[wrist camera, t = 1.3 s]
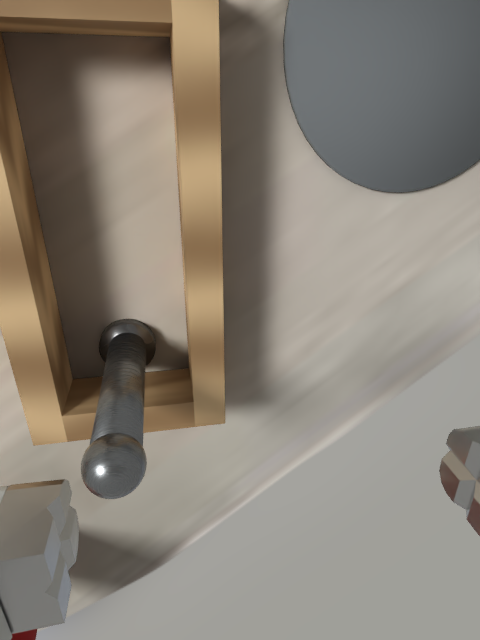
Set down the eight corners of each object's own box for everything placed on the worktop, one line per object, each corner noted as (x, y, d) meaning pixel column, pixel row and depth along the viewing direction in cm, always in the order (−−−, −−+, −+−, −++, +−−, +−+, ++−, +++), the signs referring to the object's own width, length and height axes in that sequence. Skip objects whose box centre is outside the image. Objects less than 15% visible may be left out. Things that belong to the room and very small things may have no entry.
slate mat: (292, -172, 19) (294, -177, 19) (594, -137, 22) (602, -141, 21) (276, 194, 26) (278, 195, 26) (506, 188, 29) (510, 189, 28)
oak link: (-58, -23, 19) (-106, -54, 16) (207, -10, 21) (217, -34, 17) (48, 405, 30) (33, 445, 26) (217, 388, 32) (225, 423, 28)
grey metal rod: (96, 321, 28) (58, 463, 16) (152, 316, 28) (151, 451, 17) (104, 367, 29) (73, 526, 18) (157, 363, 30) (159, 513, 19)
